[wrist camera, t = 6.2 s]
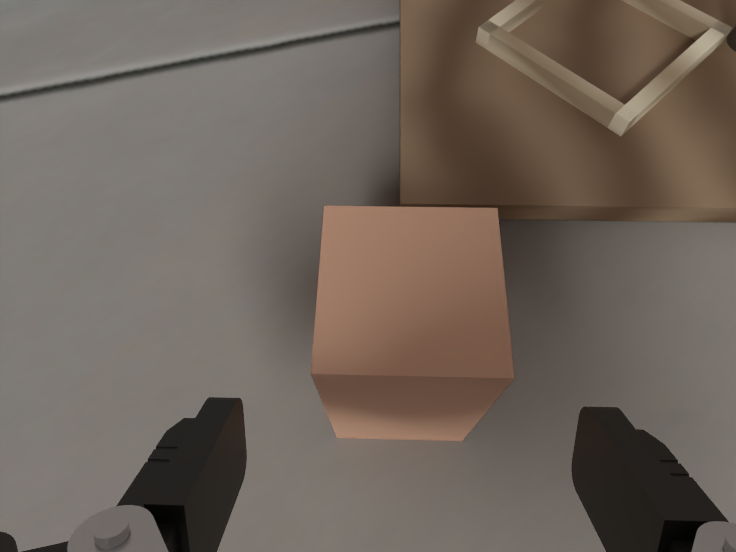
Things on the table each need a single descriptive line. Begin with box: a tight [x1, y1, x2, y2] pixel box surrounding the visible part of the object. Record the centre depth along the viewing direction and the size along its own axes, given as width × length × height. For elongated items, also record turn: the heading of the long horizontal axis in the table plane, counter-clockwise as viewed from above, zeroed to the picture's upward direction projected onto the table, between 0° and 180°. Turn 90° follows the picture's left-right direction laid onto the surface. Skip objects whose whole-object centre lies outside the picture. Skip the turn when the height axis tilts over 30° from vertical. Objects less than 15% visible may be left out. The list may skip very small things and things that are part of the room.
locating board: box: [400, 0, 736, 222], centre depth 27 cm, size 22×22×6 cm
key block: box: [311, 206, 515, 441], centre depth 18 cm, size 5×5×9 cm
